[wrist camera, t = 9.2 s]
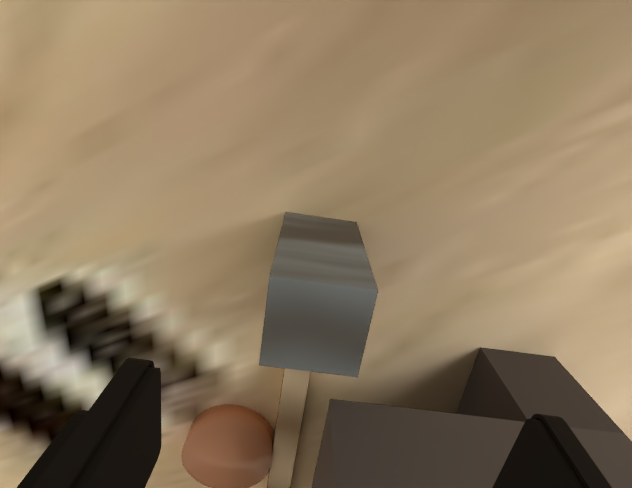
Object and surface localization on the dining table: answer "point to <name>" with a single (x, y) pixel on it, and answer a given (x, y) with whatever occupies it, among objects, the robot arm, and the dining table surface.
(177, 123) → the dining table surface
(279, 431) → the grey block with handle
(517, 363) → the cabinet
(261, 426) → the coaster
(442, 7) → the dining table surface
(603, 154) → the dining table surface
